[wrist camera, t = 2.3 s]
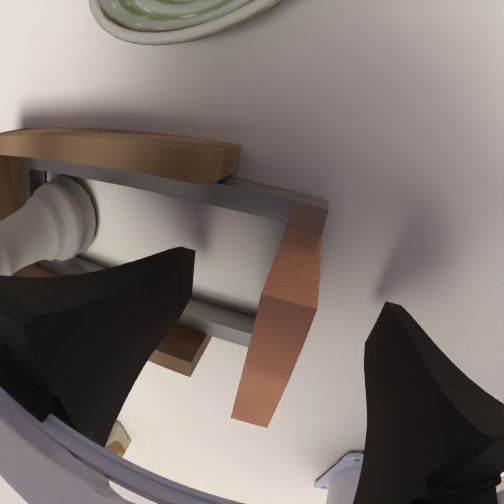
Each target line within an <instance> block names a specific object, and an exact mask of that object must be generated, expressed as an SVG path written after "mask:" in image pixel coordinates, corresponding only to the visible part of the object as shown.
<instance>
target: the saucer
mask: <svg viewBox="0 0 504 504" xmlns="http://www.w3.org/2000/svg"><path fill="white" fill-rule="evenodd" d="M280 1H281V0H89V4H90V9H91V12H92V14H93V16H94V18H95V20H96V21H97V23H98V24H99V25H100V26H101V27H102V28H103V29H104V30H105V31H106V32H108V33H109V34H111V35H112V36H114V37H116V38H118V39H120V40H123V41H126V42H130V43H135V44H142V45H170V44H178V43H184V42H190V41H194V40H198V39H202V38H206V37H209V36H212V35H215V34H218V33H221V32H223V31H226V30H228V29H231V28H233V27H235V26H238V25H240V24H242V23H244V22H247V21H249V20H251V19H253V18H255V17H256V16H258V15H260V14H261V13H263V12H265V11H266V10H268V9H269V8H271V7H273V6H274V5H276V4H277V3H279V2H280Z"/></svg>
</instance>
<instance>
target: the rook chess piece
mask: <svg viewBox="0 0 504 504" xmlns="http://www.w3.org/2000/svg"><path fill="white" fill-rule="evenodd" d="M95 227H96V217H95V209H94V206H93V204H92V201H91V198H90V196H89V195H88V193H87V192H86V191H85V189H84V188H83V186H81V185H80V184H78V183H77V182H75V181H74V180H72V179H71V178H69V177H60V176H58V177H56V178H55V179H54V180H52V181H51V182H45V183H44V184H43V185H41V186H40V187H39V188H38V189H36V190H35V191H34V193H33V196H31V197H30V198H29V199H28V200H27V201H26V204H25V205H24V206H23V207H22V208H21V209H19V210H18V211H16V212H15V213H13V214H11V215H10V216H9V217H7V218H6V219H4V220H2V221H0V275H5V276H12V274H13V273H15V272H16V271H18V270H20V269H21V268H23V267H25V266H27V265H30V264H32V263H35V262H37V261H40V260H45V259H46V260H49V261H52V260H54V259H57V260H60V261H63V260H67V259H70V258H73V257H75V256H76V254H80V253H82V252H85V251H87V249H88V248H89V246H90V245H91V243H92V242H93V237H94V232H95Z"/></svg>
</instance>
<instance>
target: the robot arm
mask: <svg viewBox="0 0 504 504" xmlns="http://www.w3.org/2000/svg"><path fill="white" fill-rule="evenodd" d="M194 262H195V250H191V249H187V248H184V247H177V248H173V249H169V250H166V251H163V252H160V253H157V254H154V255H151V256H148V257H145V258H142V259H139V260H136V261H133V262H129V263H126V264H123V265H119V266H116V267H112V268H108V269H104V270H99V271H94V272H89V273H83V274H74V275H66V276H56V277H19V276H5V275H0V475H1V476H2V477H3V478H4V480H5V481H6V482H7V483H8V484H9V485H10V486H11V487H12V488H13V489H14V490H15V491H16V492H17V493H18V494H19V495H20V496H21V497H22V498H23V499H24V500H25V501H26V502H28V503H29V504H135V503H132V502H130V501H128V500H126V499H124V498H122V497H121V496H120V495H119V494H117V493H116V492H115V491H114V490H113V489H112V488H111V487H110V485H109V482H108V481H107V480H105V479H104V478H102V477H101V476H99V475H98V474H100V475H102V476H103V477H105V478H107V479H109V480H110V481H112V482H114V483H116V484H118V485H120V486H122V487H124V488H126V489H128V490H130V491H132V492H134V493H136V494H138V495H140V496H142V497H144V498H146V499H149V500H151V501H153V502H156V503H158V504H244V503H240V502H236V501H232V500H229V499H225V498H221V497H218V496H215V495H211V494H208V493H205V492H202V491H199V490H196V489H193V488H190V487H188V486H185V485H182V484H179V483H177V482H174V481H172V480H169V479H167V478H164V477H162V476H160V475H157V474H155V473H153V472H150V471H148V470H146V469H144V468H142V467H140V466H137V465H135V464H133V463H131V462H129V461H127V460H125V459H123V458H121V457H120V456H118V455H116V454H114V453H112V452H110V451H108V450H107V449H105V446H106V443H107V441H108V438H109V436H110V433H111V431H112V428H113V426H114V424H115V421H116V419H117V417H118V415H119V413H120V411H121V408H122V406H123V404H124V402H125V400H126V398H127V396H128V394H129V392H130V390H131V389H132V387H133V385H134V383H135V381H136V379H137V378H138V376H139V374H140V372H141V370H142V369H143V367H144V365H145V364H146V362H147V361H148V359H149V358H150V356H151V355H152V353H153V352H154V351H155V349H156V348H157V347H158V345H159V344H160V343H161V342H162V340H163V339H164V338H165V336H166V335H167V334H168V332H169V331H170V330H171V328H172V327H173V326H174V324H175V323H176V322H177V320H178V319H179V318H180V316H181V315H182V313H183V311H184V309H185V308H186V306H187V304H188V302H189V300H190V298H191V296H192V286H193V274H194ZM364 373H365V387H366V402H367V431H366V441H365V449H364V454H359V453H349V454H347V455H346V456H345V457H344V458H342V459H341V460H340V461H339V462H338V463H337V464H336V465H335V466H334V467H333V468H332V469H330V470H329V471H328V472H327V473H326V474H325V475H324V476H322V477H321V478H320V479H319V480H318V481H316V482H315V483H314V487H315V488H320V489H328V495H327V502H326V504H504V490H501V491H500V492H497V493H496V486H497V485H499V484H500V483H501V476H500V474H501V473H502V472H504V404H503V403H501V402H500V401H498V400H497V399H495V398H494V397H492V396H491V395H490V394H488V393H487V392H485V391H484V390H483V389H482V388H480V387H479V386H478V385H477V384H475V383H474V382H473V381H472V380H471V379H469V378H468V377H467V376H466V375H465V374H464V373H463V372H462V371H461V370H460V369H459V368H458V367H456V366H455V365H454V364H453V363H452V362H451V361H450V360H449V358H448V357H447V356H446V355H445V354H444V353H443V352H442V351H441V350H440V349H439V348H438V347H437V345H436V344H435V343H434V342H433V341H432V340H431V338H430V337H429V336H428V335H427V334H426V333H425V331H424V330H423V329H422V328H421V327H420V326H419V324H418V323H417V322H416V321H415V320H414V319H413V317H412V316H411V315H410V314H409V313H408V312H407V311H406V310H405V309H404V308H403V307H402V306H401V305H398V304H394V303H390V302H386V303H385V305H384V307H383V309H382V311H381V313H380V315H379V317H378V319H377V321H376V323H375V325H374V327H373V329H372V331H371V333H370V335H369V337H368V338H367V340H366V342H365V354H364ZM89 468H90V469H89ZM92 470H93V471H92ZM94 471H95V472H96V473H98V474H96V473H95V472H94Z"/></svg>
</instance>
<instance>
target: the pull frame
mask: <svg viewBox="0 0 504 504" xmlns="http://www.w3.org/2000/svg"><path fill="white" fill-rule="evenodd" d="M22 170H23V190H24V203H25V204H26V201H27V200H28V199H29V198H30V197H31V196H33V193H34V191H35V190H36V189H38V188H39V187H40V186H41V185H43V184H44V183H45V171H47V172H53V173H58V174H64V175H70V176H76V177H81V178H87V179H92V180H97V181H103V182H108V183H113V184H118V185H123V186H128V187H133V188H138V189H143V190H148V191H152V192H157V193H162V194H167V195H171V196H176V197H180V198H185V199H189V200H194V201H198V202H203V203H207V204H211V205H216V206H220V207H224V208H228V209H233V210H237V211H241V212H245V213H249V214H253V215H257V216H261V217H266V218H270V219H273V220H277V221H281V222H285V223H288V226H287V228H286V231H285V234H284V236H283V239H282V242H281V244H280V247H279V250H278V252H277V255H276V257H275V260H274V263H273V265H272V268H271V270H270V273H269V276H268V278H267V281H266V283H265V286H264V288H263V291H262V294H261V297H260V302H259V306H258V310H257V314H256V318H255V317H252V316H248V315H245V314H241V313H238V312H234V311H231V310H228V309H224V308H221V307H218V306H215V305H211V304H208V303H205V302H202V301H199V300H196V299H193V298H190V300H189V302H188V304H187V306H186V308H185V309H184V311H183V313H182V315H181V316H180V318H179V319H178V320H177V322H176V324H178V325H181V326H184V327H187V328H190V329H193V330H196V331H199V332H202V333H205V334H208V335H211V336H214V337H217V338H220V339H223V340H226V341H230V342H233V343H236V344H239V345H243V346H246V347H249V348H248V352H247V356H246V360H245V364H244V368H243V372H242V376H241V380H240V384H239V388H238V392H237V396H236V400H235V404H234V407H233V411H232V415H231V418H234V419H237V420H241V421H244V422H248V423H251V424H255V425H259V426H263V427H266V428H267V427H268V425H269V422H270V420H271V418H272V416H273V414H274V412H275V410H276V408H277V405H278V403H279V401H280V399H281V396H282V394H283V392H284V390H285V387H286V385H287V383H288V381H289V378H290V376H291V374H292V371H293V369H294V367H295V364H296V362H297V359H298V357H299V354H300V352H301V350H302V347H303V345H304V342H305V340H306V337H307V334H308V332H309V329H310V327H311V324H312V322H313V319H314V316H315V314H316V311H317V305H318V291H319V276H320V257H321V235H322V231H323V228H324V224H325V221H326V217H327V213H328V201H324V200H320V199H316V198H312V197H309V196H305V195H301V194H297V193H293V192H289V191H285V190H281V189H276V188H272V187H268V186H264V185H259V184H255V183H250V182H246V181H241V180H237V179H232V178H227V177H224V178H222V179H220V180H219V181H217V182H215V183H213V184H211V185H209V186H203V185H198V184H193V183H188V182H183V181H178V180H173V179H168V178H162V177H157V176H151V175H146V174H140V173H134V172H129V171H123V170H117V169H110V168H104V167H97V166H91V165H84V164H77V163H69V162H62V161H54V160H46V159H37V158H28V157H22ZM35 263H37V264H39V265H41V266H43V267H44V268H46V269H48V270H50V271H52V272H55V273H57V274H59V275H61V276H66V275H74V274H83V273H89V272H94V271H99V270H104V269H107V268H104V267H102V266H99V265H96V264H94V263H91V262H89V261H86V260H84V259H81V258H79V257H76V256H75V257H73V258H70V259H67V260H63V261H60V260H57V259H54V260H52V261H49V260H46V259H45V260H40V261H37V262H35Z"/></svg>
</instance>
